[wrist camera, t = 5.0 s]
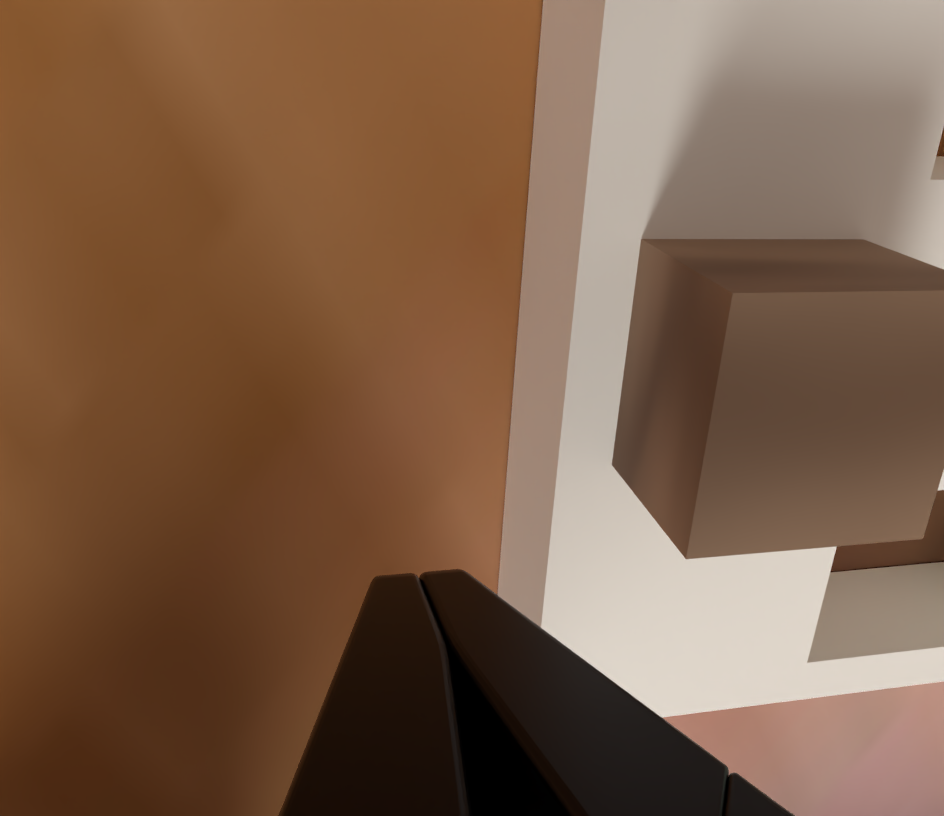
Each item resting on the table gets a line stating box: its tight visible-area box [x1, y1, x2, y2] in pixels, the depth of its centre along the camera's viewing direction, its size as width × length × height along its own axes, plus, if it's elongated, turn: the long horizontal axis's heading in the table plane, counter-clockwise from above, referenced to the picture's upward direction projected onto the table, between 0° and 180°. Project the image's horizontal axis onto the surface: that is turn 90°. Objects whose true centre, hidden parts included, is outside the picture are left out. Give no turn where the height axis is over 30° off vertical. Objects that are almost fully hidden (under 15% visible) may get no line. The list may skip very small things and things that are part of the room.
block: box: [612, 239, 944, 559], centre depth 14 cm, size 4×4×3 cm
